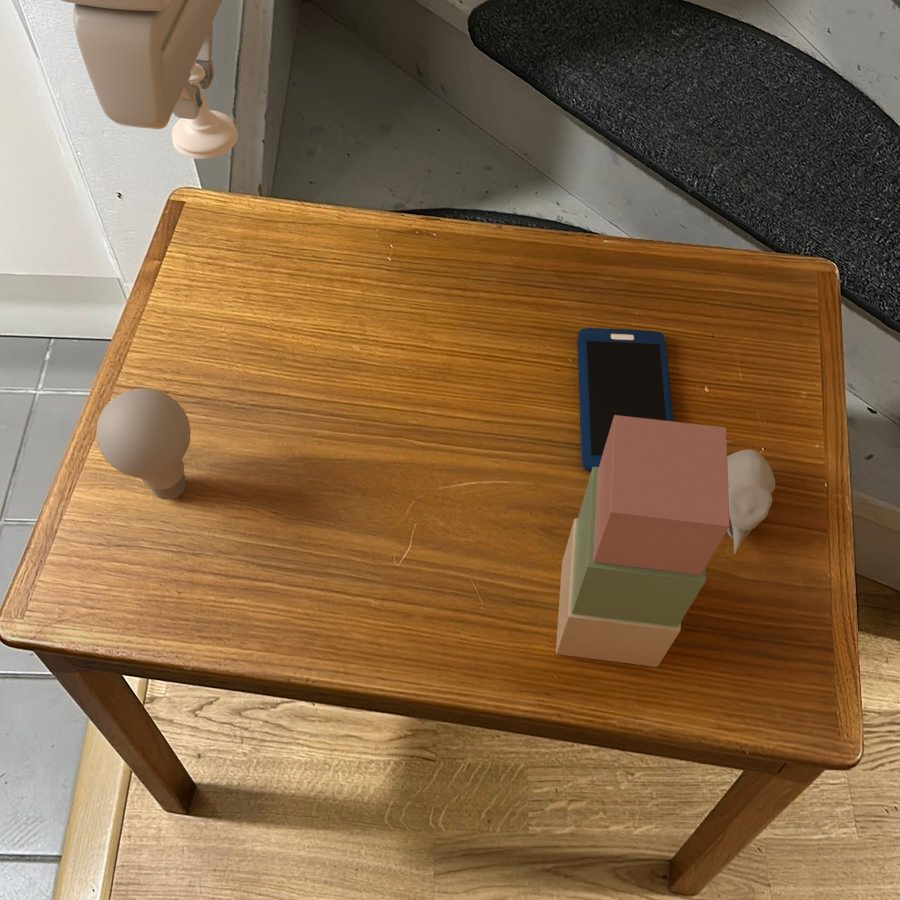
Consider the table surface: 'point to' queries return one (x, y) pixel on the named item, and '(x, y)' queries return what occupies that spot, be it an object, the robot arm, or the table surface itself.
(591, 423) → the cell phone
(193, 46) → the robot arm
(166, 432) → the lightbulb
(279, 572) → the table surface
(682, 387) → the table surface
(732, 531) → the figurine
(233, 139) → the chess piece
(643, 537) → the block stack
